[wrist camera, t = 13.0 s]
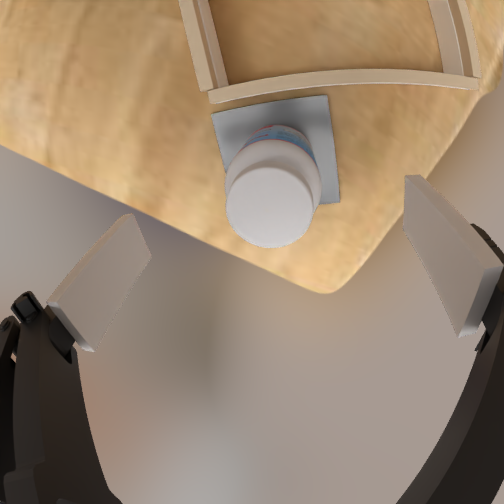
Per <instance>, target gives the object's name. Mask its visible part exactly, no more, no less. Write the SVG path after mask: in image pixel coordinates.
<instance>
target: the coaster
mask: <svg viewBox="0 0 504 504" xmlns="http://www.w3.org/2000/svg"><path fill="white" fill-rule="evenodd" d="M211 117H212V121H213V125H214V129H215V133H216V137H217V141H218V145H219V149H220V153H221V157H222V161H223V165H224V169H225V173H227V170H228V167H229V165H230V163H231V162H232V160H233V159H234V157H235V156H236V154H237V153H238V152H239V150H240V149H241V148H242V146H243V145H244V144H245V142H246V141H247V140H248V138H249V137H250V136H251V135H252V134H253V133H254V132H256V131H257V130H258V129H260V128H262V127H265V126H268V125H284V126H288V127H291V128H294V129H295V130H297V131H299V132H300V133H302V134H303V135H304V136H305V137H306V139H307V140H308V141H309V143H310V145H311V147H312V150H313V153H314V156H315V159H316V163H317V166H318V170H319V173H320V177H321V184H322V192H321V198H320V201H319V204H318V205H320V204H330V203H339V202H340V195H339V183H338V173H337V163H336V155H335V146H334V138H333V131H332V124H331V117H330V111H329V105H328V99H327V95H319V96H310V97H301V98H293V99H286V100H279V101H273V102H267V103H261V104H255V105H250V106H245V107H240V108H235V109H230V110H226V111H222V112H217V113H213V114H211Z"/></svg>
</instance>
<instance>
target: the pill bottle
mask: <svg viewBox="0 0 504 504" xmlns="http://www.w3.org/2000/svg"><path fill="white" fill-rule="evenodd" d="M321 192H322V184H321V177H320V173H319V170H318V166H317V163H316V159H315V156H314V153H313V150H312V147H311V145H310V143H309V141H308V140H307V139H306V137H305V136H304V135H303V134H302V133H300V132H299V131H297V130H295V129H294V128H291V127H288V126H284V125H268V126H265V127H262V128H260V129H258V130H257V131H256V132H254V133H253V134H252V135H251V136H250V137H249V138H248V140H247V141H246V142H245V144H244V145H243V146H242V148H241V149H240V150H239V152H238V153H237V154H236V156H235V157H234V159H233V160H232V162H231V163H230V165H229V167H228V170H227V173H226V177H225V194H226V214H227V218H228V221H229V223H230V225H231V226H232V228H233V229H234V231H235V232H236V233H237V234H238V235H239V236H240V237H241V238H243V239H244V240H245V241H247V242H249V243H251V244H253V245H256V246H260V247H265V248H278V247H283V246H286V245H289V244H291V243H293V242H295V241H296V240H298V239H299V238H300V237H301V236H302V235H303V234H304V233H305V232H306V231H307V229H308V227H309V225H310V223H311V221H312V217H313V213H314V212H315V210H316V208H317V206H318V204H319V201H320V198H321Z"/></svg>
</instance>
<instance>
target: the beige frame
mask: <svg viewBox="0 0 504 504" xmlns="http://www.w3.org/2000/svg"><path fill="white" fill-rule="evenodd" d="M178 2H179V6H180V10H181V15H182V19H183V23H184V27H185V31H186V36H187V40H188V44H189V48H190V52H191V56H192V60H193V64H194V69H195V73H196V77H197V81H198V85H199V89H200V92H207V93H208V97H209V101H210V104H213V103H216V104H218V103H223V102H227V101H231V100H236V99H241V98H246V97H251V96H256V95H262V94H267V93H273V92H280V91H287V90H294V89H302V88H311V87H321V86H333V85H349V84H415V85H430V86H441V87H451V88H459V89H466V90H470V89H473V90H479V83H478V79H477V78H482V74H481V67H480V60H479V54H478V49H477V44H476V39H475V34H474V30H473V26H472V22H471V18H470V14H469V11H468V8H467V4H466V1H465V0H428V4H429V7H430V11H431V14H432V18H433V22H434V26H435V30H436V34H437V39H438V44H439V49H440V54H441V60H442V66H443V73H439V72H430V71H418V70H403V69H346V70H329V71H317V72H307V73H299V74H291V75H284V76H277V77H271V78H265V79H259V80H254V81H249V82H244V83H239V84H235V85H230V86H229V84H228V80H227V75H226V71H225V67H224V63H223V59H222V55H221V51H220V46H219V42H218V38H217V34H216V30H215V26H214V22H213V18H212V14H211V10H210V6H209V2H208V0H178ZM471 77H472V78H471Z"/></svg>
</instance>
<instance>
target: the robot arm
mask: <svg viewBox="0 0 504 504" xmlns="http://www.w3.org/2000/svg"><path fill="white" fill-rule="evenodd" d="M403 231H404V232H405V234H406V236H407V237H408V239H409V241H410V242H411V244H412V246H413V248H414V249H415V251H416V253H417V255H418V256H419V258H420V260H421V262H422V263H423V265H424V267H425V269H426V271H427V273H428V275H429V277H430V279H431V281H432V283H433V284H434V286H435V289H436V290H437V292H438V295H439V296H440V299H441V301H442V303H443V305H444V307H445V310H446V312H447V314H448V316H449V318H450V320H451V323H452V325H453V328H454V330H455V332H456V335H457V337H462V336H466V335H470V334H474V333H476V331H477V329H478V327H479V325H480V323H481V321H483V323H484V326H485V328H486V330H485V332H484V334H483V336H482V338H481V340H480V342H479V343H478V345H477V347H476V348H475V351H477V350H478V352H477V355H476V358H475V361H474V364H473V367H472V369H471V372H470V375H469V377H468V380H467V382H466V385H465V387H464V390H463V392H462V394H461V397H460V399H459V401H458V403H457V406H456V408H455V410H454V412H453V414H452V416H451V418H450V420H449V422H448V424H447V426H446V428H445V430H444V432H443V434H442V436H441V437H440V439H439V441H438V443H437V444H436V446H435V448H434V449H433V451H432V453H431V454H430V456H429V458H428V459H427V461H426V463H425V464H424V465H423V467H422V469H421V470H420V472H419V473H418V475H417V476H416V477H415V479H414V480H413V482H412V483H411V485H410V486H409V487H408V489H407V490H406V491H405V493H404V494H403V495H402V496H401V498H400V499H399V500H398V502H397V503H396V504H491V503H492V501H493V500H494V498H495V496H496V494H497V492H498V490H499V488H500V486H501V484H502V482H503V480H504V254H503V252H502V251H501V250H500V248H499V247H497V245H496V244H495V243H494V241H493V240H491V238H490V237H489V235H488V234H487V233H486V232H485V231H484V230H482V229H481V228H480V227H478V226H476V225H475V224H469V223H468V222H467V220H466V219H465V218H464V217H463V216H462V215H461V214H460V213H459V212H458V211H457V210H456V209H455V208H454V207H453V206H452V205H451V204H450V203H449V202H448V201H447V200H446V199H445V198H444V197H443V196H442V195H441V194H440V193H439V192H438V191H437V190H436V189H435V188H434V187H433V186H432V185H431V184H429V183H428V182H427V181H426V180H425V179H424V178H423V177H422V176H421V175H405V199H404V219H403ZM151 257H152V256H151V254H150V252H149V250H148V247H147V245H146V243H145V241H144V238H143V236H142V234H141V231H140V229H139V227H138V224H137V222H136V219H135V217H134V215H133V213H132V214H127V215H122V216H121V217H120V218H119V219H118V220H117V221H116V222H115V223H114V224H113V225H112V226H111V227H110V228H109V229H108V230H107V231H106V232H105V233H104V234H103V236H102V237H101V238H100V239H99V240H98V241H97V242H96V243H95V244H94V245H93V246H92V247H91V249H90V250H89V251H88V252H87V253H86V254H85V255H84V256H83V257H82V259H81V260H80V261H79V262H78V263H77V264H76V266H75V267H74V268H73V269H72V270H71V271H70V273H69V274H68V275H67V276H66V277H65V279H64V280H63V281H62V282H61V284H60V285H59V286H58V287H57V289H56V290H55V291H54V292H53V294H52V295H51V296H50V297H49V299H48V300H47V304H48V305H47V306H46V308H45V309H43V307H42V306H41V304H40V303H39V302H38V300H37V299H36V297H35V296H34V294H33V293H32V292H31V291H27V292H25V293H23V294H22V295H21V296H20V297H18V298H17V299H16V300H15V301H14V303H13V304H12V306H11V310H12V311H13V312H14V314H15V315H16V316H17V318H18V319H19V320H20V321H21V323H19V322H18V321H17V319H16V318H15V317H14V316H9V317H8V318H5V319H4V320H3V321H2V322H1V324H0V501H1V502H0V504H122V503H121V501H120V500H119V499H118V498H117V497H115V496H114V494H113V493H112V492H111V491H110V490H109V488H108V486H107V483H106V480H105V478H104V475H103V472H102V469H101V466H100V463H99V460H98V456H97V453H96V449H95V446H94V442H93V439H92V435H91V431H90V427H89V422H88V418H87V413H86V409H85V403H84V398H83V392H82V387H81V381H80V373H79V366H78V358H77V352H76V349H75V348H74V347H73V346H72V345H73V343H74V342H75V341H76V342H77V343H78V344H79V346H80V347H81V348H82V349H83V350H86V351H93V352H95V351H96V349H97V347H98V345H99V344H100V342H101V340H102V338H103V336H104V335H105V333H106V331H107V329H108V328H109V326H110V324H111V322H112V321H113V319H114V317H115V315H116V314H117V312H118V310H119V309H120V307H121V305H122V304H123V302H124V300H125V299H126V297H127V295H128V293H129V292H130V290H131V289H132V287H133V286H134V284H135V282H136V281H137V279H138V278H139V276H140V274H141V273H142V271H143V270H144V268H145V267H146V265H147V264H148V262H149V260H150V259H151ZM12 353H13V354H14V355H15V356H16V363H15V362H14V361H13V360H12V359H11V355H12Z"/></svg>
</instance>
